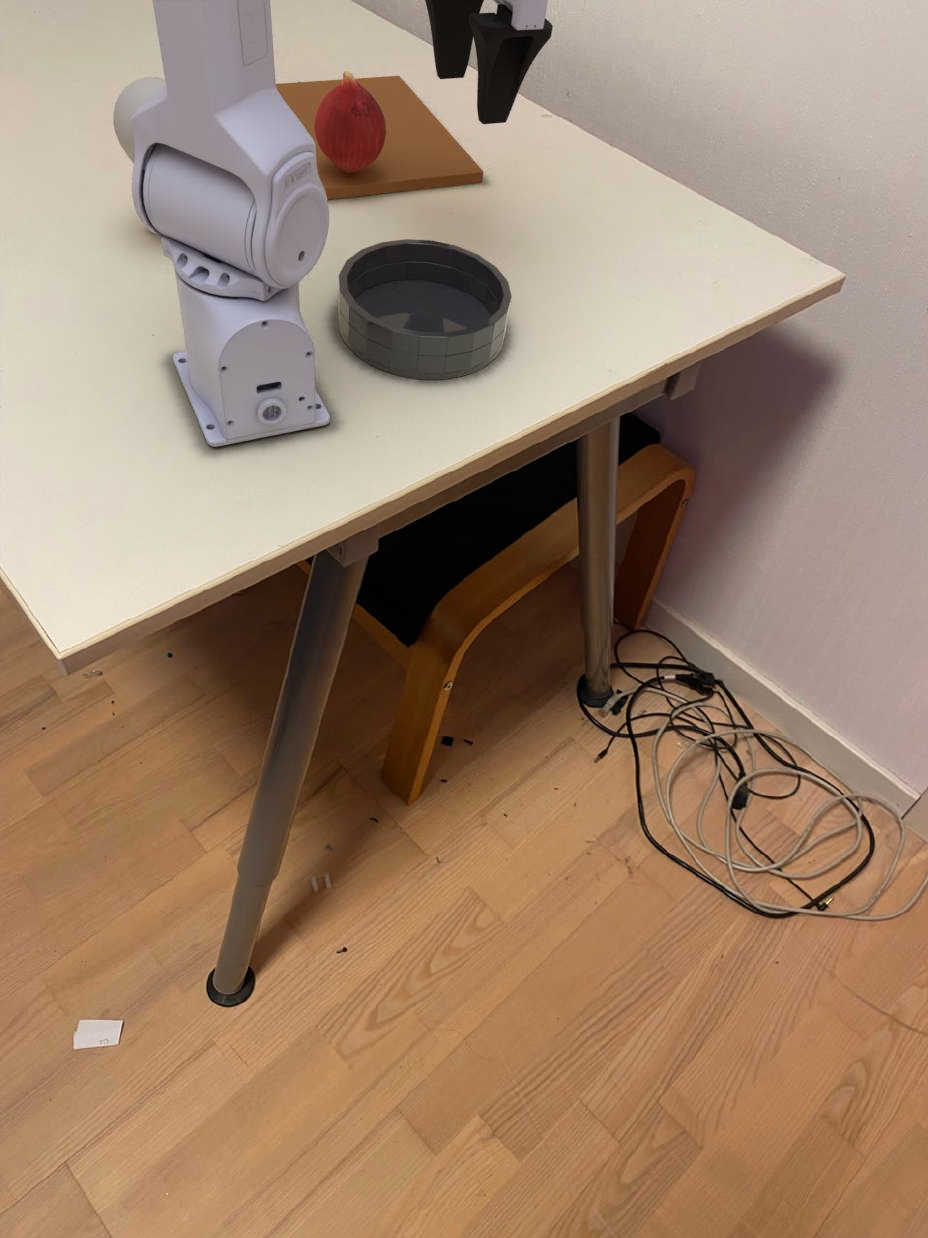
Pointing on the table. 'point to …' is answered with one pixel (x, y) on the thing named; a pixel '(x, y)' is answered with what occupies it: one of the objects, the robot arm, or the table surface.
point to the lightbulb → (132, 109)
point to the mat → (388, 142)
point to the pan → (423, 308)
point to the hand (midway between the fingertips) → (470, 98)
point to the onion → (350, 126)
